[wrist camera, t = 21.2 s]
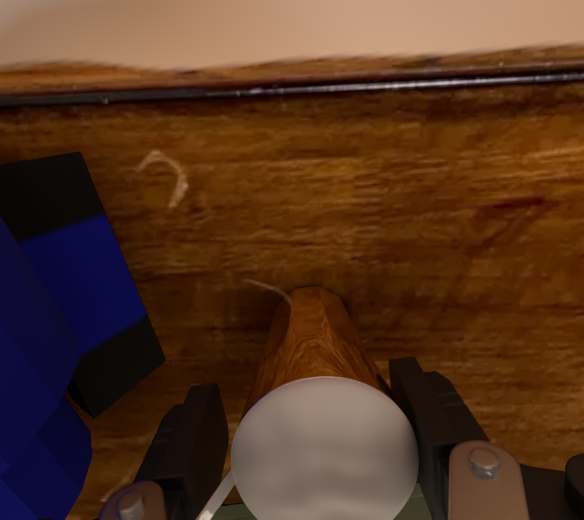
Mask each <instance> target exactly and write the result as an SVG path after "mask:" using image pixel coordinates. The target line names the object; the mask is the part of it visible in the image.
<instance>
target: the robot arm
mask: <svg viewBox="0 0 584 520" xmlns="http://www.w3.org/2000/svg"><path fill="white" fill-rule="evenodd" d="M389 371H390V382H391V391H392V393H393V395H394V396H395V398H396V400H397V401H398V403H399V405H400V406H401V408H402V410H403V412H404V413H405V415H406V417H407V419H408V420H409V422H410V424H411V426H412V428H413V431H414V434H415V437H416V440H417V445H418V453H419V470H418V477H417V479H418V482H419V485H420V487H421V490H422V493H423V496H424V498H425V501H426V504H427V506H428V509H429V512H430V514H431V517H432V520H584V454H579V455H576V456H573V457H572V458H570V459H569V460H568V461H567V463H566V466H565V472H564V471H557V470H550V469H542V468H535V467H530V466H526V465H523V464H520V463H518V461H517V460H516V459H515V457H514V456H513V455H512V454H511V453H510V452H508V451H507V450H506V449H504V448H502V447H501V446H499V445H496V444H494V443H491V442H490V441H489V439H488V438H487V436H486V435H485V433H484V432H483V430H482V429H481V427H480V426H479V424H478V423H477V421H476V420H475V418H474V417H473V415H472V414H471V412H470V411H469V409H468V408H467V406H466V405H465V404H464V402H463V400H462V399H461V397H460V395H458V393H457V391H456V389H455V388H454V386H453V385H452V383H451V382H450V380H448V379H447V378H445V377H444V376H442V375H441V374H439V373H438V372H436V371H432V372H423V371H422V369H421V367H420V365H419V364H418V362H417V360H416V359H415V357H407V358H399V359H392V360H389ZM228 441H229V433H228V425H227V420H226V416H225V412H224V408H223V403H222V399H221V395H220V391H219V387H218V385H217V383H210V384H202V385H195V386H191V388H190V390H189V392H188V395H187V397H186V400H185V402H184V404H179V405H175V406H174V407H173V408H172V409H171V410H170V411H169V412H168V413H167V414H166V415H165V416H164V417H163V419H162V421H161V423H160V426H159V428H158V430H157V433H156V434H155V436H154V438H153V441H152V444H151V445H150V447H149V449H148V451H147V453H146V456H145V458H144V460H143V462H142V464H141V466H140V468H139V470H138V473H137V475H136V477H135V479H134V481H133V483H132V484H130V485H128V486H126V487H124V488H122V489H121V490H119V491H118V492H116V493H115V494H114V495H113V496H112V497H111V498H110V499H109V500H108V501H107V502H106V503H105V505H104V506H103V508H102V510H101V512H100V514H99V517H98V518H96V519H94V520H196V518H197V517H198V515H199V514H200V512H201V511H202V509H203V508H204V507H205V505H206V504H207V502H208V501H209V499H210V498H211V496H212V495H213V493H214V492H215V490H216V489H217V488H218V486H219V485H220V482H221V477H222V473H223V468H224V463H225V458H226V453H227V449H228ZM35 520H54V519H52V518H39V519H35ZM212 520H213V519H212Z"/></svg>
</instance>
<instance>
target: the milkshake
mask: <svg viewBox="0 0 584 520" xmlns="http://www.w3.org/2000/svg"><path fill="white" fill-rule="evenodd" d="M418 470H419V453H418V445H417V440H416V437H415V434H414V431H413V428H412V426H411V424H410V422H409V420H408V419H407V417H406V415H405V413H404V412H403V410H402V408H401V406H400V405H399V403H398V401H397V400H396V398H395V396H394V395H393V393H392V391H391V389H390V388H389V386H388V384H387V383H386V381H385V379H384V378H383V376H382V374H381V372H380V371H379V369H378V368H377V366H376V364H375V363H374V361H373V360H372V358H371V356H370V355H369V353H368V352H367V350H366V348H365V346H364V344H363V343H362V341H361V339H360V337H359V335H358V333H357V331H356V329H355V327H354V325H353V323H352V321H351V319H350V317H349V315H348V313H347V311H346V309H345V307H344V305H343V303H342V301H341V299H340V298H339V296H337V295H335V294H333V293H331V292H329V291H327V290H325V289H323V288H321V287H319V286H312V287H305V288H297V289H293V290H292V291H291V292H290V293H289V294H288V295H287V296H286V297H285V298H284V299H283V300H281V301H280V302H279V303H278V304H277V306H276V309H275V313H274V316H273V320H272V324H271V327H270V331H269V334H268V338H267V341H266V345H265V348H264V352H263V355H262V358H261V362H260V365H259V368H258V370H257V373H256V376H255V379H254V382H253V385H252V387H251V390H250V393H249V396H248V399H247V402H246V405H245V408H244V411H243V413H242V416H241V419H240V422H239V425H238V428H237V430H236V432H235V435H234V438H233V441H232V447H231V469H230V470H229V471H228V473H227V474H226V476H225V477H224V479H223V480H222V482H221V483H220V485H219V486H218V488H217V489H216V490H215V492H214V493H213V495H212V496H211V498H210V499H209V501H208V502H207V504H206V505H205V507H204V508H203V509H202V511H201V512H200V514H199V515H198V517H197V518H196V520H212V519H213V517H214V515H215V514H216V512H217V511H218V509H219V508H220V506H221V505H222V503H223V502H224V500H225V498H226V497H227V495H228V494H229V492H230V491H231V489H232V488H233V486H234V484H235V485H236V488H237V490H238V492H239V494H240V496H241V498H242V500H243V501H244V503H245V504H246V506H247V507H248V509H249V510H250V511H251V513H252V514H253V515H254V516H255V517H256V518H257V519H258V520H393V519H394V518H395V517H396V516H397V514H398V513H399V512H400V511H401V510H402V508H403V507H404V505H405V504H406V502H407V501H408V499H409V497H410V496H411V494H412V492H413V490H414V487H415V484H416V481H417V477H418Z"/></svg>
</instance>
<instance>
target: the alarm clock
mask: <svg viewBox="0 0 584 520" xmlns="http://www.w3.org/2000/svg"><path fill="white" fill-rule="evenodd" d="M165 361H166V360H165V357H164V355H163V352H162V350H161V347H160V345H159V343H158V340H157V338H156V335H155V333H154V330H153V328H152V326H151V323H150V321H149V318H148V316H147V313H146V311H145V309H144V306H143V304H142V301H141V299H140V296H139V294H138V292H137V289H136V287H135V284H134V282H133V279H132V277H131V275H130V272H129V270H128V267H127V265H126V262H125V260H124V258H123V255H122V253H121V250H120V248H119V245H118V243H117V241H116V238H115V236H114V233H113V231H112V228H111V226H110V224H109V221H108V219H107V216H106V214H105V211H104V209H103V207H102V204H101V202H100V199H99V197H98V194H97V192H96V190H95V187H94V185H93V182H92V180H91V177H90V175H89V173H88V170H87V168H86V165H85V163H84V160H83V158H82V156H81V153H80V152H74V153H68V154H62V155H56V156H50V157H44V158H38V159H32V160H26V161H20V162H14V163H8V164H2V165H0V520H35V519H39V518H52V519H54V520H65V519H66V517H67V515H68V513H69V512H70V510H71V508H72V507H73V505H74V503H75V501H76V500H77V498H78V496H79V494H80V493H81V491H82V488H83V485H84V481H85V478H86V475H87V472H88V468H89V465H90V462H91V459H92V446H91V433H90V430H89V429H88V428H87V426H86V425H85V424H84V422H83V421H82V419H81V418H80V417H79V415H78V414H77V412H76V411H75V410H74V408H73V407H72V406H71V404H70V403H69V401H68V400H67V399H66V397H65V396H64V393H65V391H66V389H68V391H69V393H70V395H71V397H72V399H73V401H74V402H75V403H76V404H78V405H79V406H80V407H81V408H82V409H83V410H84V411H85V412H86V413H88V414H89V415H90V416H91V417H92V418H93V419H94V418H95V417H97V416H98V415H99V414H100V413H102V412H103V411H104V410H105V409H107V408H108V407H109V406H110V405H111V404H113V403H114V402H115V401H116V400H118V399H119V398H120V397H121V396H123V395H124V394H125V393H126V392H128V391H129V390H130V389H131V388H133V387H134V386H135V385H136V384H138V383H139V382H140V381H141V380H143V379H144V378H145V377H146V376H148V375H149V374H150V373H151V372H152V371H154V370H155V369H156V368H157V367H159V366H160V365H161V364H162V363H164V362H165Z"/></svg>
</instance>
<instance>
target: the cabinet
mask: <svg viewBox="0 0 584 520" xmlns="http://www.w3.org/2000/svg"><path fill="white" fill-rule="evenodd" d="M213 520H258V519H257V518H256V517H255V516H254V515H253V514H252V513H251V511H250V510H249V509H248V507H247V506H246V504H245V503H243V504H235V505H226V506H220V508H219V509H218V511H217V512H216V514H215V515H214V517H213ZM393 520H432V517H431V514H430V512H429V509H428V506H427V504H426V501H425V498H424V496H423V493H422V490H421V487H420V485H419V483H416V484H415V487H414V490H413V492H412V494H411V496H410V497H409V499H408V501H407V502H406V504H405V505H404V507H403V508H402V510H401V511H400V512H399V513H398V514H397V516H396V517H395V518H394V519H393Z"/></svg>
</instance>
